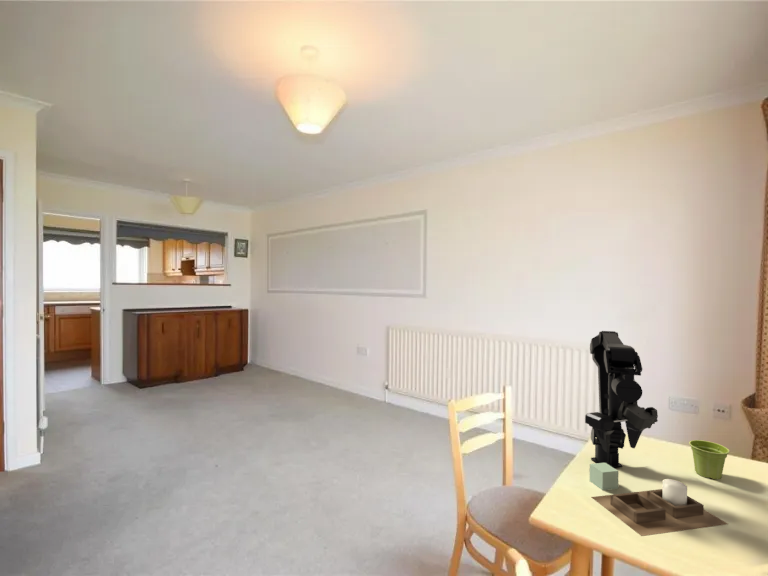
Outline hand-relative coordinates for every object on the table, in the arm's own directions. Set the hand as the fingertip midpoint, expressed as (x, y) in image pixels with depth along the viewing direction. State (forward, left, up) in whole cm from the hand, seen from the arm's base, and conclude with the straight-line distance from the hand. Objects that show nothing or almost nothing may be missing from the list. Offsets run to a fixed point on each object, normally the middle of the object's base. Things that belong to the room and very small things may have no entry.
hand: (619, 449), depth 106 cm
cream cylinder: (+9, +8, -11) cm, 17 cm away
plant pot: (-5, +35, -13) cm, 38 cm away
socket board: (+9, +2, -12) cm, 16 cm away
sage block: (-4, -2, -13) cm, 13 cm away
